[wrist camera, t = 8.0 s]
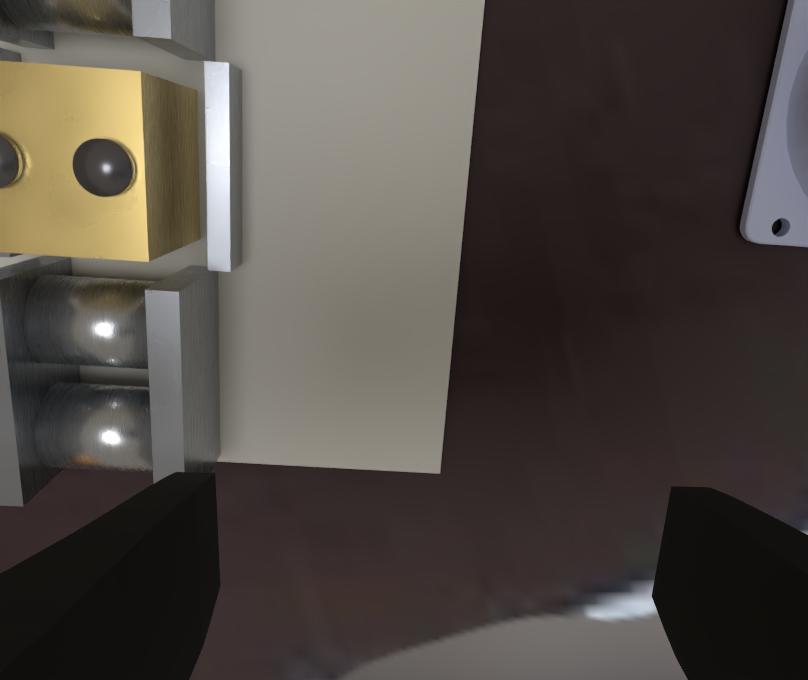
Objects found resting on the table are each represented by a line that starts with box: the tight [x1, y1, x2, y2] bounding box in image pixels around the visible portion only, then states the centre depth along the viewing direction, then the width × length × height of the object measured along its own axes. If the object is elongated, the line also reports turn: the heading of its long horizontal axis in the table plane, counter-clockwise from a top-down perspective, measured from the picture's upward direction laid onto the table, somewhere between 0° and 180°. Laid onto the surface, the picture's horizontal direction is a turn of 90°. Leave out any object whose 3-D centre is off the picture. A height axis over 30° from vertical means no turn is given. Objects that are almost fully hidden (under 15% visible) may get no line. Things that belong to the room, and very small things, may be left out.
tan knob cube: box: [0, 61, 201, 262], centre depth 15 cm, size 4×4×4 cm
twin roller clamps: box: [0, 0, 242, 506], centre depth 16 cm, size 6×18×4 cm, turn 176°
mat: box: [0, 0, 485, 474], centre depth 18 cm, size 14×18×1 cm
